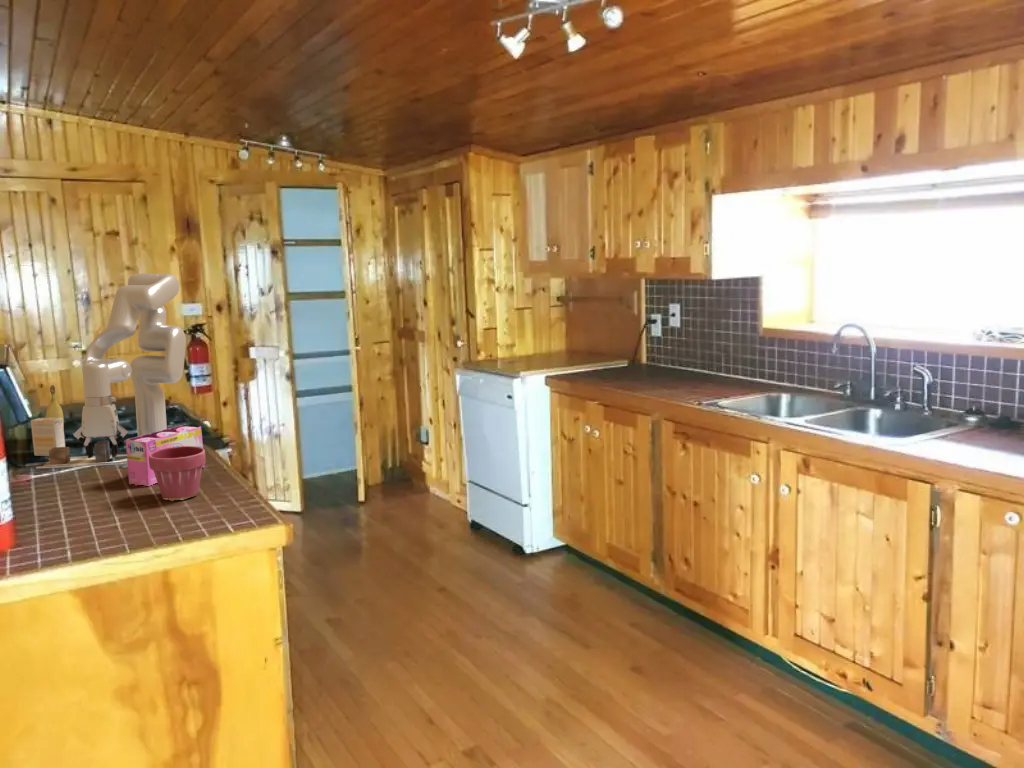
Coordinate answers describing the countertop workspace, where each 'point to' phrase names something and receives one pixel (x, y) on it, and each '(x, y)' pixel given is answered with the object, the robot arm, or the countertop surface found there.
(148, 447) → the gum box
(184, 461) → the plant pot
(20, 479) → the countertop surface
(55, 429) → the supplement box
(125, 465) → the rails
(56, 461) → the block
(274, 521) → the countertop surface
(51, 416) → the banana
